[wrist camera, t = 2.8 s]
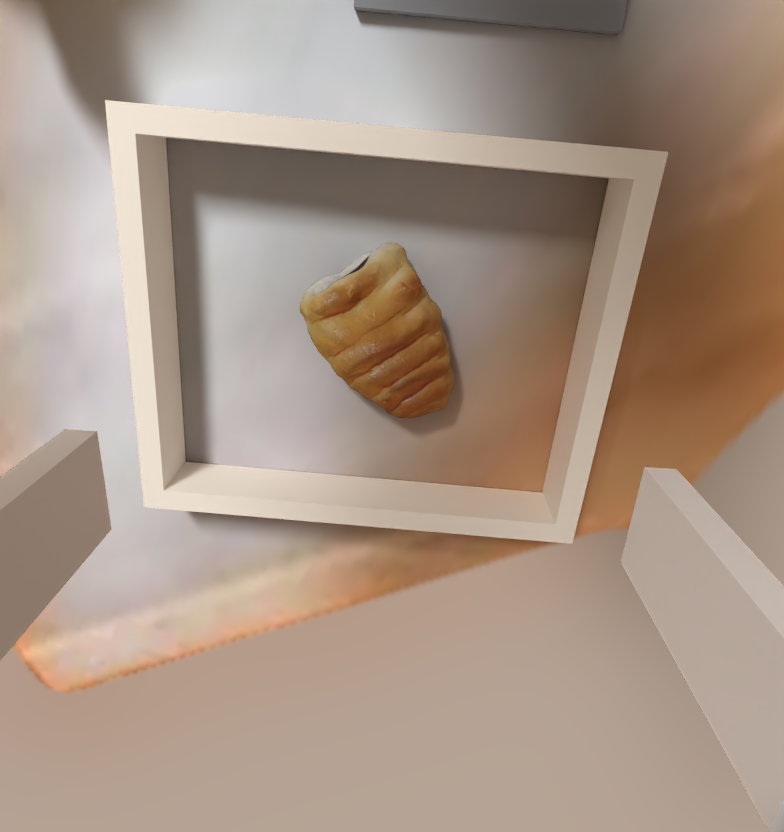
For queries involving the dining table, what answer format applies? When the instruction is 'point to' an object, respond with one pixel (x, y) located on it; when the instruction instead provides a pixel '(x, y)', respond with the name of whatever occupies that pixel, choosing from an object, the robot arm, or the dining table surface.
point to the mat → (514, 12)
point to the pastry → (382, 333)
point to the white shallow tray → (349, 495)
